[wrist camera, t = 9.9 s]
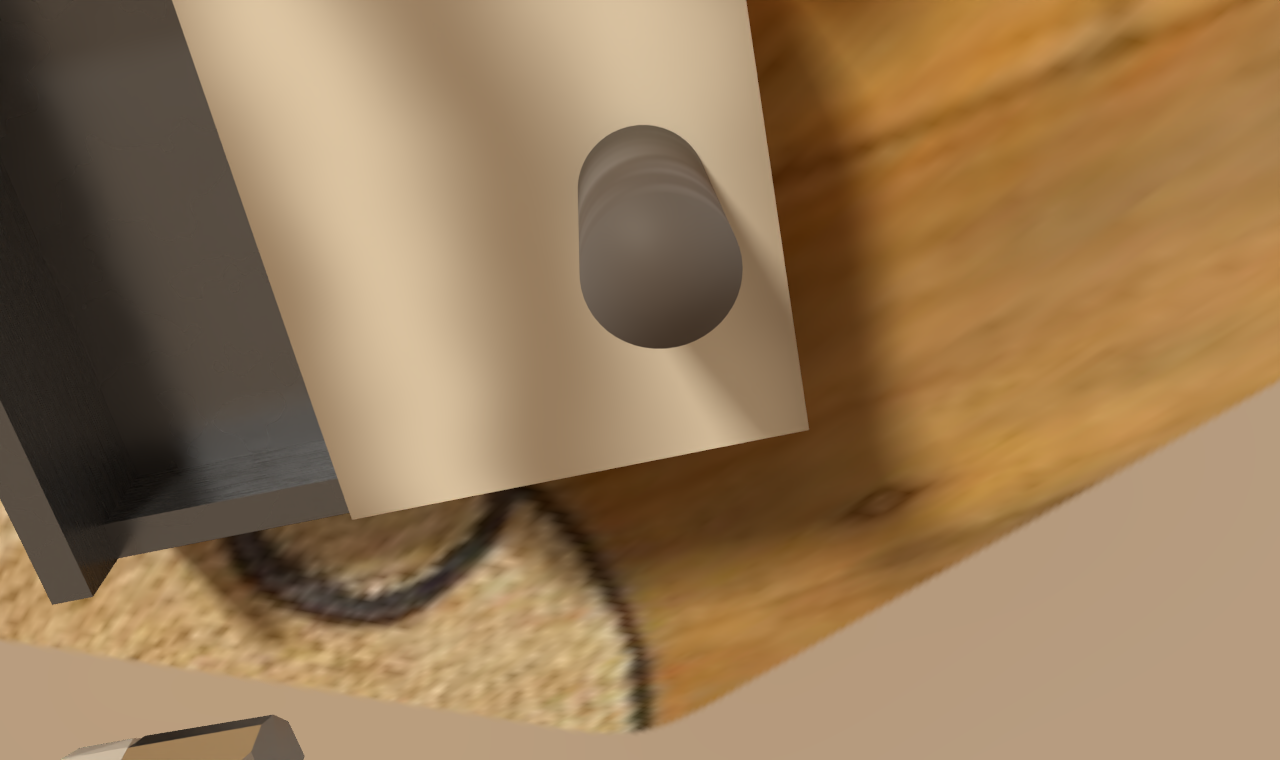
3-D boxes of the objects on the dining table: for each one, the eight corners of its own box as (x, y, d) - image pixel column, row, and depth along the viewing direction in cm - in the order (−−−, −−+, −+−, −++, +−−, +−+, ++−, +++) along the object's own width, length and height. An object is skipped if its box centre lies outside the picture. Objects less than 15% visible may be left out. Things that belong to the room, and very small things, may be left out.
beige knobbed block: (690, -161, 30) (770, -183, 18) (768, 330, 36) (867, 560, 24) (241, -66, 30) (27, -25, 18) (389, 406, 36) (300, 669, 24)
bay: (680, -241, 30) (704, -267, 25) (775, 370, 37) (810, 456, 32) (-123, -70, 31) (-273, -58, 25) (126, 499, 38) (52, 604, 33)
